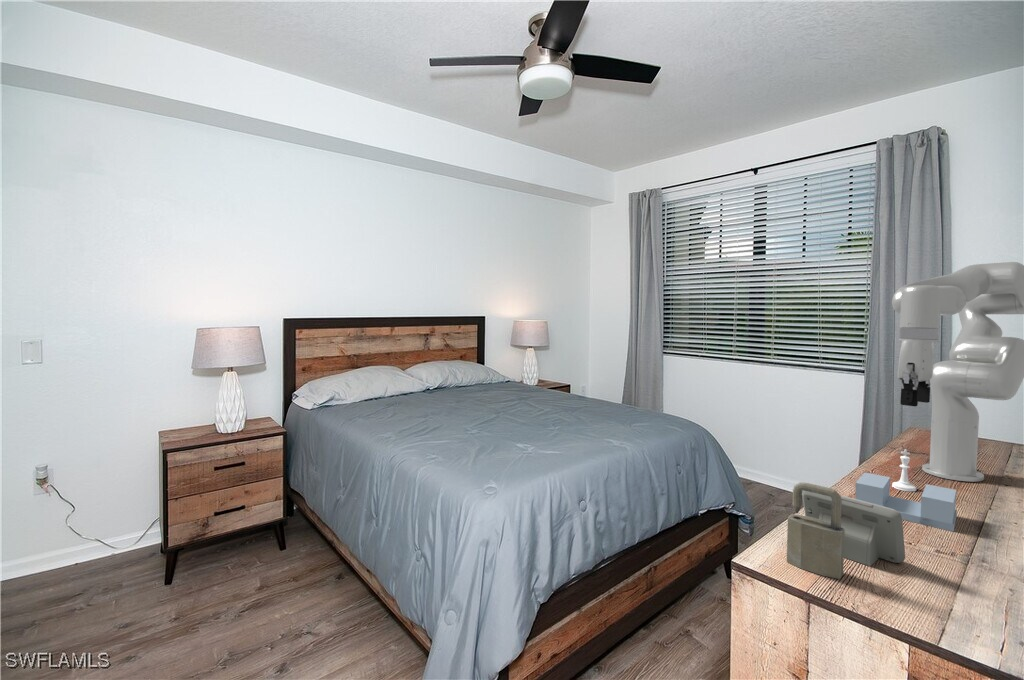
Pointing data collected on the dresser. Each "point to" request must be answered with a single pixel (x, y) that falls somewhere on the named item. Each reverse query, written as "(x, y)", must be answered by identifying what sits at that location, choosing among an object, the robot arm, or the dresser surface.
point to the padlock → (816, 535)
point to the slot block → (911, 502)
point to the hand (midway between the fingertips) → (915, 403)
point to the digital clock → (862, 527)
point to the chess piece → (904, 475)
